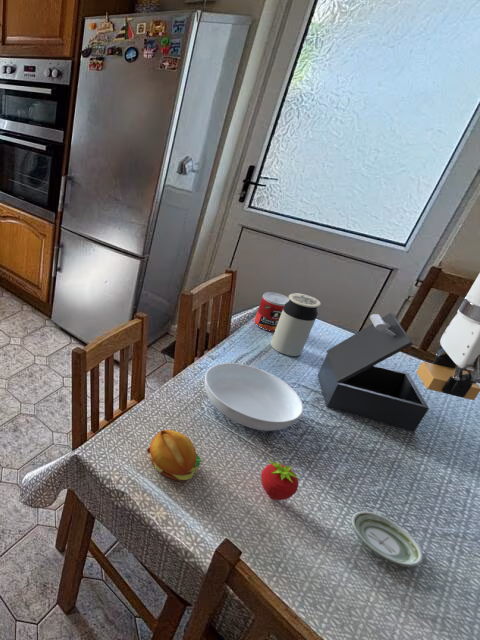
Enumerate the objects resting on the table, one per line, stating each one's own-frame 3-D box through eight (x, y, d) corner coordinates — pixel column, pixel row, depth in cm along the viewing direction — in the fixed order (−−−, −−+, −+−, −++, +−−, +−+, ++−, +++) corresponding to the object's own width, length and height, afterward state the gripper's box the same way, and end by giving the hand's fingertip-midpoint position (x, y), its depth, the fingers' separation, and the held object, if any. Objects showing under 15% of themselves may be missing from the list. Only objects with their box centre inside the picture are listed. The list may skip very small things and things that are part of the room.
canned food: (256, 329, 138) (266, 301, 133) (251, 317, 144) (260, 290, 140) (283, 334, 135) (294, 306, 130) (277, 321, 142) (287, 294, 137)
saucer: (423, 550, 76) (429, 542, 75) (409, 585, 71) (416, 577, 70) (356, 508, 83) (361, 501, 82) (339, 538, 78) (344, 530, 77)
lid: (394, 314, 104) (374, 301, 105) (413, 344, 93) (391, 329, 94) (329, 352, 114) (311, 340, 115) (339, 383, 103) (320, 370, 104)
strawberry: (248, 497, 85) (262, 465, 81) (262, 477, 89) (276, 444, 85) (281, 520, 81) (298, 486, 77) (294, 497, 85) (311, 464, 81)
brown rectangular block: (460, 382, 88) (467, 371, 87) (474, 400, 84) (481, 389, 82) (416, 371, 91) (422, 361, 90) (427, 389, 87) (433, 378, 85)
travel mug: (302, 360, 124) (323, 309, 116) (270, 351, 127) (289, 302, 120) (299, 345, 130) (319, 297, 122) (269, 338, 134) (287, 290, 126)
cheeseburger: (204, 461, 93) (211, 438, 87) (184, 500, 87) (190, 478, 82) (159, 435, 99) (163, 411, 94) (138, 470, 94) (141, 447, 88)
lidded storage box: (395, 395, 110) (408, 372, 107) (414, 432, 99) (429, 408, 96) (317, 375, 118) (327, 353, 114) (326, 407, 107) (337, 384, 104)
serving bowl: (224, 371, 120) (230, 352, 117) (308, 418, 104) (318, 397, 101) (183, 401, 109) (188, 381, 106) (270, 458, 94) (279, 436, 91)
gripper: (546, 342, 71) (491, 418, 79) (493, 296, 85) (450, 365, 93) (484, 331, 75) (438, 405, 82) (443, 288, 88) (406, 355, 96)
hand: (445, 383), depth 87 cm, fingers closed on brown rectangular block, 6 cm apart
